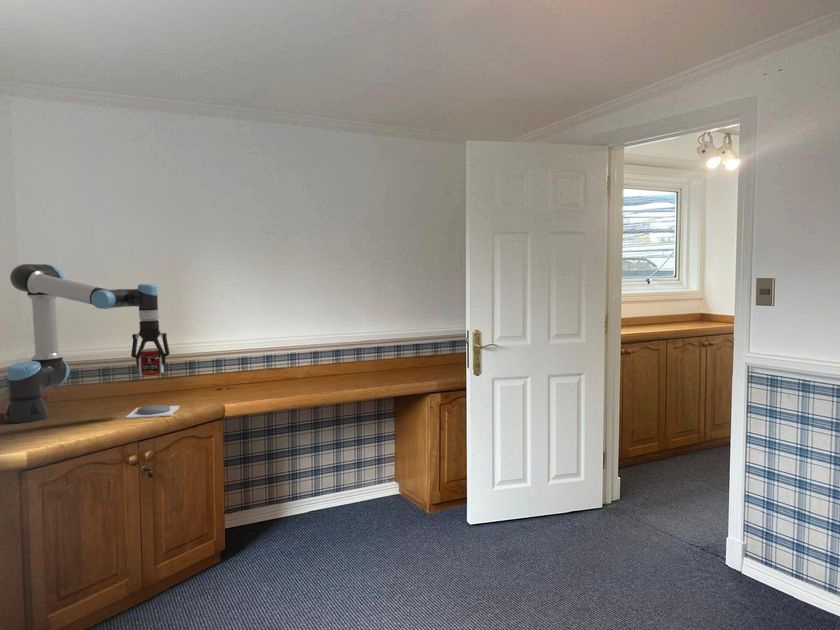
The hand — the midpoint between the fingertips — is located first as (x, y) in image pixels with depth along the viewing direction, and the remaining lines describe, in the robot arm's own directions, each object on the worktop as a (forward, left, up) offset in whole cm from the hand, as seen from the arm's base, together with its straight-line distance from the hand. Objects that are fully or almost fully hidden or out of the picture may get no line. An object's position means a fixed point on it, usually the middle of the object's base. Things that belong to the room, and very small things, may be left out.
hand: (151, 372), depth 255 cm
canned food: (0, 0, -1) cm, 1 cm away
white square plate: (0, 0, -18) cm, 18 cm away
